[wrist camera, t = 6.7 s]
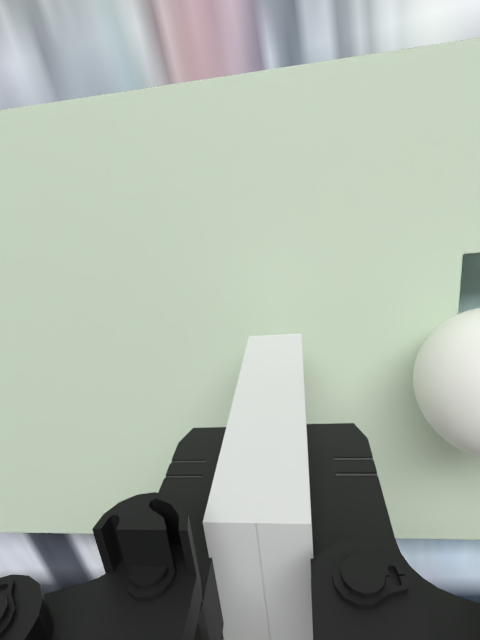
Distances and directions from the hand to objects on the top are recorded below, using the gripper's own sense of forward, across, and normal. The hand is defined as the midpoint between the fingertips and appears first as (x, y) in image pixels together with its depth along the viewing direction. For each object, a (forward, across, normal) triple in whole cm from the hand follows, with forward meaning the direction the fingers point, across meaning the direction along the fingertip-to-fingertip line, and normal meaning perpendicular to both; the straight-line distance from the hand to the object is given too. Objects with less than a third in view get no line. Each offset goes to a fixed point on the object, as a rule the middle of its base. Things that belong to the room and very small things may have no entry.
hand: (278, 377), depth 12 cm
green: (+4, +1, +2) cm, 4 cm away
